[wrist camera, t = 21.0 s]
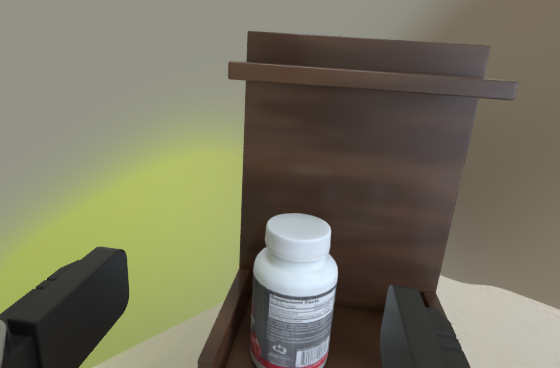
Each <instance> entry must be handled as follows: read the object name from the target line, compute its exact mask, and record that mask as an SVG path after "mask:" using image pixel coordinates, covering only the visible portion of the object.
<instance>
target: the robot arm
mask: <svg viewBox="0 0 560 368" xmlns="http://www.w3.org/2000/svg"><path fill="white" fill-rule="evenodd" d="M128 299H129V283H128V268H127V256H126V253H125V251H124V250H122V249H114V248H107V247H97V248H95V249H94V250H93V251H91V252H90V253H89V254H87V255H86V256H85V257H84V258H82V259H81V260H77V261H75V262H73V263H71V264H68V265H66V266H64V267H62V268H60V269H59V270H57V271H56V272H55V273H53V274H52V275H51V276H49V277H48V278H47V280H45V281H43V282H42V283H40V284H39V285H38V286H36V289H33V290H31V291H30V292H29V293H27V294H26V295H25V296H23V297H22V298H21V299H19V300H18V301H17V302H15V303H14V304H13V305H12V306H10V307H9V308H8V309H6V310H5V311H4V312H3V313H1V314H0V368H79V366H80V365H81V364H82V363H83V362H84V360H85V359H86V358H87V357H88V355H89V354H90V353H91V352H92V351H93V349H94V348H95V347H96V346H97V344H98V343H99V342H100V341H101V340H102V338H103V337H104V336H105V335H106V334H107V332H108V331H109V330H110V329H111V328H112V326H113V325H114V324H115V323H116V321H117V320H118V319H119V318H120V316H121V315H122V314H123V313H124V311H125V309H126V306H127V304H128ZM380 352H381V358H382V364H383V368H470V365H469V363H468V361H467V359H466V357H465V354H464V352H463V351H462V348H461V346H460V343H459V341H458V339H456V334H455V332H454V330H453V328H452V326H451V323H450V322H449V321H448V320H447V319H446V318H445V317H444V316H443V315H442V314H441V313H440V312H439V311H438V310H437V309H436V308H429V307H425V305H424V302H423V300H422V297H421V295H420V292H419V290H418V288H414V287H406V286H398V285H390V286H389V289H388V294H387V299H386V304H385V310H384V315H383V321H382V326H381V333H380Z"/></svg>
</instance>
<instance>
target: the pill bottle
mask: <svg viewBox="0 0 560 368" xmlns="http://www.w3.org/2000/svg"><path fill="white" fill-rule="evenodd" d="M330 239H331V228H330V226H329V224H328V223H326V222H325V221H324V220H322V219H320V218H318V217H315V216H311V215H307V214H301V213H286V214H280V215H277V216H274V217H272V218H271V219H270V220H269V221H268V222H267V225H266V235H265V243H266V248H264V249H263V250H262V251H261V252H260V253H259V254H258V255H257V257H256V259H255V262H254V268H253V294H252V313H251V332H250V354H251V358H252V360H253V362H254V364H255V365H256V366H257V368H323V367H324V365H325V363H326V360H327V355H328V349H329V340H330V332H331V324H332V316H333V310H334V303H335V295H336V286H337V278H338V268H337V265H336V262H335V261H334V259H333V258H332V257H331V255H330V254H329V249H330Z"/></svg>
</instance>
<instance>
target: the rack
mask: <svg viewBox="0 0 560 368" xmlns="http://www.w3.org/2000/svg"><path fill="white" fill-rule="evenodd" d="M490 49H491V46H486V45H468V44H453V43H435V42H421V41H420V42H419V41H404V40H388V39H372V38H371V39H370V38H355V37H339V36H322V35H307V34H306V35H305V34H290V33H273V32H257V31H248V38H247V61H246V62H244V61H239V62H238V61H236V62H235V61H230V62H229V63H228V78H229V79H234V80H246V95H245V123H244V151H243V179H242V207H241V234H240V263H239V270H238V272H237V274H236V277H235V279H234V281H233V283H232V286H231V288H230V290H229V292H228V295H227V297H226V299H225V301H224V303H223V306H222V308H221V310H220V312H219V314H218V317H217V319H216V321H215V323H214V326H213V328H212V330H211V332H210V335H209V337H208V339H207V341H206V343H205V346H204V348H203V350H202V352H201V355H200V357H199V359H198V368H257V366H256V365H255V364H254V362H253V360H252V358H251V354H250V332H251V313H252V294H253V268H254V262H255V259H256V257H257V255H258V254H259V253H260V252H261V251H262V250H263V249H264V248H266V243H265V235H266V225H267V222H268V221H269V220H270V219H271V218H272V217H274V216H277V215H280V214H286V213H301V214H307V215H311V216H315V217H318V218H320V219H322V220H324V221H325V222H326V223H328V224H329V226H330V228H331V239H330V249H329V254H330V255H331V257H332V258H333V259H334V261H335V262H336V265H337V268H338V278H337V286H336V295H335V303H334V310H333V316H332V324H331V332H330V340H329V349H328V355H327V360H326V363H325V365H324V367H323V368H383V364H382V358H381V352H380V333H381V326H382V321H383V315H384V310H385V304H386V299H387V294H388V289H389V286H390V285H398V286H406V287H414V288H418V290H419V292H420V295H421V297H422V300H423V302H424V305H425V307H429V308H436V309H437V310H438V311H439V312H440V313H441V314H442V315H443V316H444V317H445V318H446V319H447V317H446V315H445V312H444V310H443V308H442V306H441V304H440V301H439V299H438V297H437V295H436V289H437V285H438V280H439V276H440V271H441V267H442V262H443V258H444V253H445V249H446V245H447V240H448V236H449V231H450V226H451V222H452V217H453V213H454V209H455V204H456V200H457V196H458V191H459V187H460V182H461V178H462V173H463V169H464V164H465V160H466V156H467V151H468V147H469V142H470V138H471V133H472V129H473V124H474V120H475V116H476V111H477V107H478V102H479V98H486V99H500V100H514V99H515V94H516V90H517V87H518V82H516V81H506V80H498V79H489V78H484V75H485V71H486V66H487V62H488V58H489V53H490ZM447 320H448V319H447Z"/></svg>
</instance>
